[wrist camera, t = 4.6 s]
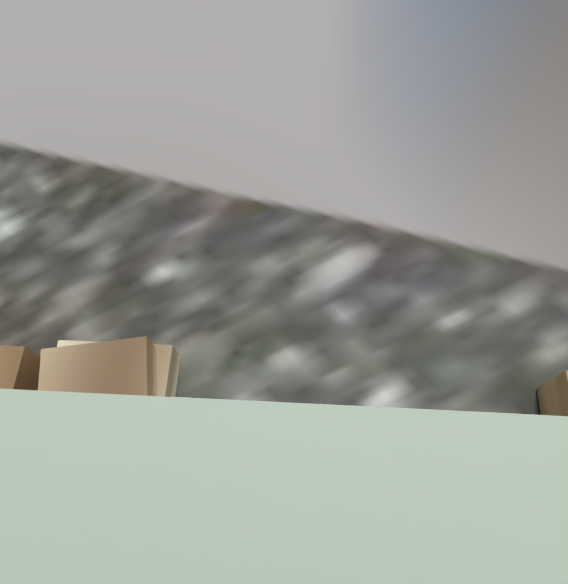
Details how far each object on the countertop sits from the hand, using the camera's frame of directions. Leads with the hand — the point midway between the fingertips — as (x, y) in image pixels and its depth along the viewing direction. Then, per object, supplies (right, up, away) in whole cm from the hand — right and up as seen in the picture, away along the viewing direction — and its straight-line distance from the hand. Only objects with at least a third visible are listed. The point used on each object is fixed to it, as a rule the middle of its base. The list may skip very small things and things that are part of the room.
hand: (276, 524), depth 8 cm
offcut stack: (-5, 0, +8) cm, 10 cm away
